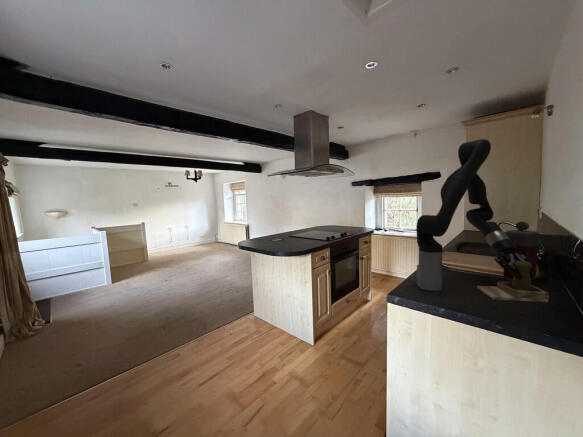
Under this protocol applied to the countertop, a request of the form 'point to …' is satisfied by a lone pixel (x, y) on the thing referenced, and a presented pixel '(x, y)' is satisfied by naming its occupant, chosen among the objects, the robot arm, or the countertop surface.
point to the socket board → (514, 293)
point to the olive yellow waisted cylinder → (526, 280)
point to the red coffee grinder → (524, 245)
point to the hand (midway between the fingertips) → (526, 278)
